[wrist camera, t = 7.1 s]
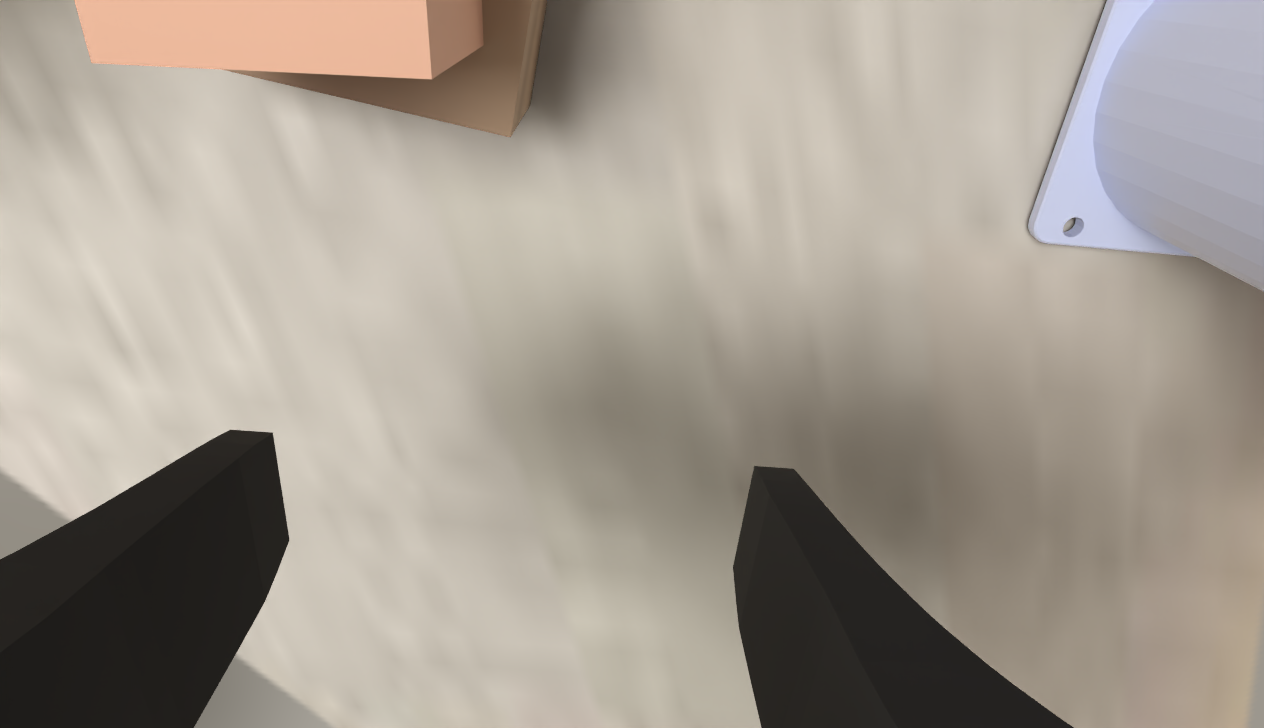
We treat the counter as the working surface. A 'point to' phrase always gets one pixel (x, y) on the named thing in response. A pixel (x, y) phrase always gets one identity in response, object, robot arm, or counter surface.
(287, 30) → the terracotta block
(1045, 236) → the robot arm
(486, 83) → the walnut block
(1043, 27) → the counter surface
